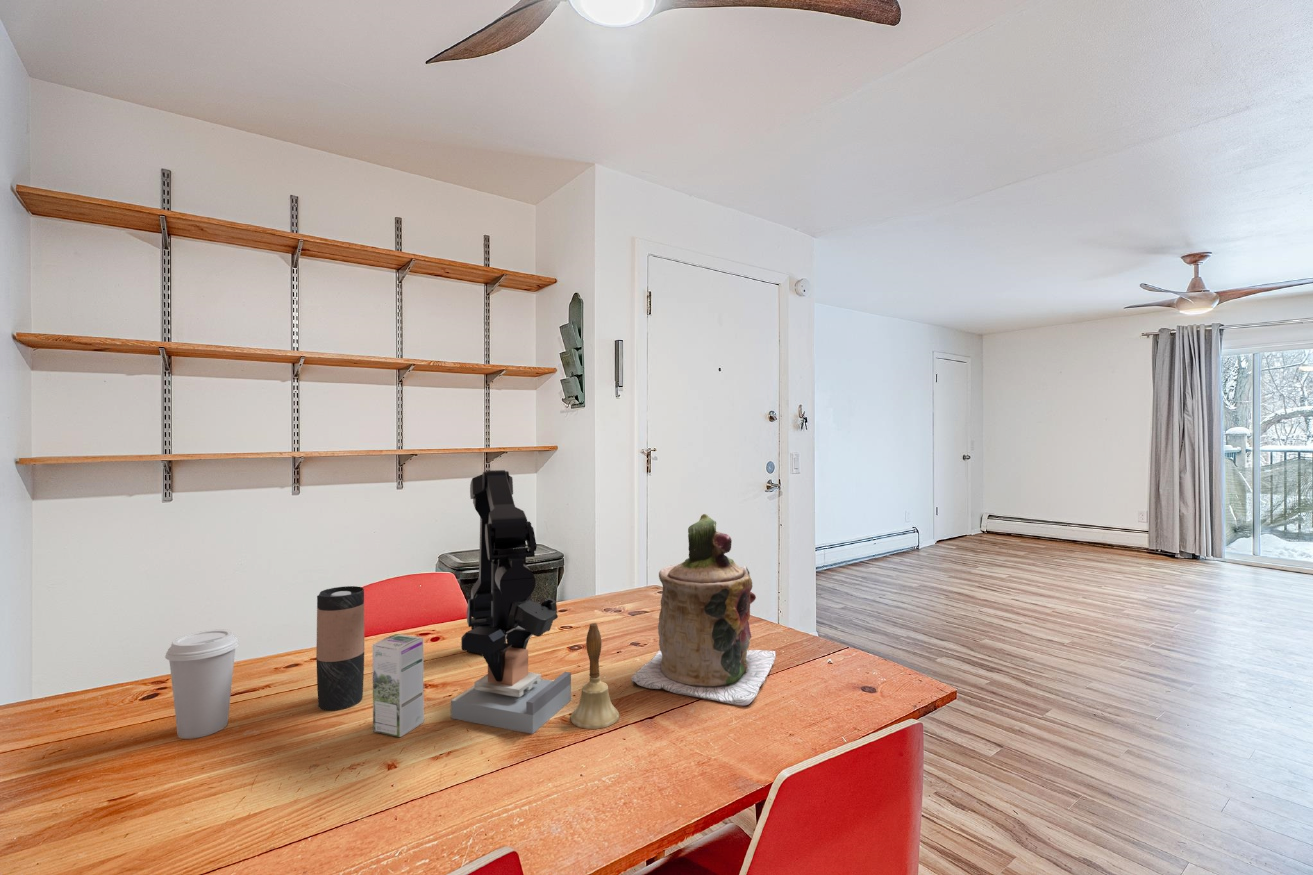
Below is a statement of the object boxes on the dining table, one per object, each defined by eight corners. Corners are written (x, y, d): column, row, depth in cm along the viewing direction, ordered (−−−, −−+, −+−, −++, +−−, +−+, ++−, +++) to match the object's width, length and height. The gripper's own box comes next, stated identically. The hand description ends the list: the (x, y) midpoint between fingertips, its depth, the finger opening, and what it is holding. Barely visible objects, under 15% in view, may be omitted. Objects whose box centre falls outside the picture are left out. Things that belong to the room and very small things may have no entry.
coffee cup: (156, 749, 89) (157, 651, 89) (174, 722, 97) (174, 633, 97) (233, 734, 93) (233, 641, 93) (243, 710, 102) (243, 624, 102)
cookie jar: (626, 687, 111) (626, 520, 111) (671, 645, 134) (671, 507, 134) (753, 709, 102) (753, 527, 102) (778, 660, 125) (778, 511, 125)
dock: (450, 718, 99) (450, 688, 99) (496, 687, 111) (496, 661, 111) (532, 733, 93) (532, 702, 93) (570, 699, 106) (570, 672, 106)
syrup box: (425, 722, 97) (425, 635, 97) (399, 739, 92) (399, 647, 92) (398, 716, 99) (398, 631, 99) (370, 733, 94) (371, 643, 94)
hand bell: (592, 734, 93) (592, 635, 93) (560, 718, 99) (560, 624, 99) (629, 716, 99) (629, 623, 99) (597, 702, 105) (597, 613, 105)
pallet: (474, 689, 101) (474, 656, 101) (498, 674, 107) (498, 643, 107) (519, 697, 98) (519, 663, 98) (540, 681, 104) (540, 648, 104)
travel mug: (373, 697, 107) (373, 588, 107) (335, 715, 100) (335, 598, 100) (345, 689, 110) (345, 584, 110) (306, 706, 103) (306, 593, 103)
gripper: (517, 605, 91) (517, 705, 91) (573, 578, 109) (573, 662, 109) (459, 599, 95) (459, 694, 95) (522, 574, 112) (522, 654, 112)
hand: (508, 675), depth 103 cm, fingers closed on pallet, 5 cm apart
